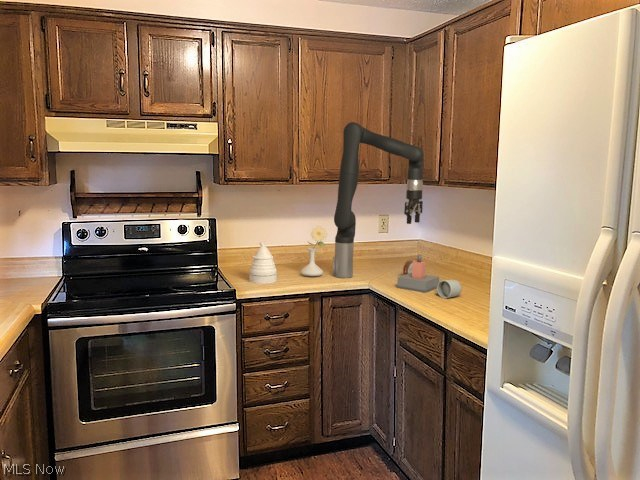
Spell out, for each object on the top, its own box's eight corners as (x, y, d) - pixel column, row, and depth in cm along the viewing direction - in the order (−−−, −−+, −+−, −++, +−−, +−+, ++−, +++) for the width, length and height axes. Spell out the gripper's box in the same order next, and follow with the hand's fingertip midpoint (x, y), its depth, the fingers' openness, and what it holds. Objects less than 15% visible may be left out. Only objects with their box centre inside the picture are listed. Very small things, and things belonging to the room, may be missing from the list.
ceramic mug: (462, 297, 229) (463, 279, 228) (450, 300, 224) (451, 281, 223) (442, 292, 237) (443, 275, 236) (430, 295, 232) (431, 277, 231)
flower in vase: (297, 277, 263) (298, 226, 260) (303, 272, 274) (304, 224, 271) (323, 278, 260) (324, 227, 257) (328, 274, 271) (329, 225, 268)
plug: (411, 285, 245) (412, 255, 243) (416, 283, 248) (417, 254, 247) (420, 287, 242) (421, 256, 240) (424, 285, 246) (426, 255, 244)
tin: (417, 273, 278) (417, 257, 277) (422, 274, 276) (423, 258, 275) (402, 278, 266) (402, 261, 265) (407, 278, 264) (408, 262, 263)
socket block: (397, 287, 244) (397, 277, 243) (411, 282, 255) (411, 272, 254) (425, 292, 236) (426, 281, 235) (438, 287, 247) (439, 276, 246)
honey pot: (246, 278, 258) (246, 241, 255) (272, 277, 262) (272, 240, 260) (253, 284, 246) (253, 245, 243) (280, 282, 250) (280, 244, 248)
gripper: (414, 188, 263) (412, 221, 265) (400, 189, 251) (399, 223, 254) (428, 189, 258) (426, 222, 261) (414, 189, 247) (413, 224, 249)
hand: (413, 223), depth 257 cm, fingers open, 8 cm apart
